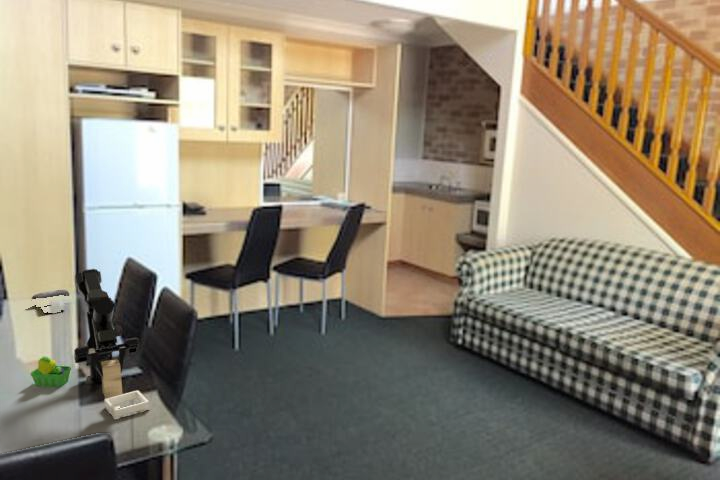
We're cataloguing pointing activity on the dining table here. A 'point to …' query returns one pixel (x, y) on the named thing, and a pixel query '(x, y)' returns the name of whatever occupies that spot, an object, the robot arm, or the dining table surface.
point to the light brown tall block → (111, 378)
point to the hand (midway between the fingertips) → (111, 374)
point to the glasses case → (51, 294)
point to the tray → (114, 402)
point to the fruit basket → (50, 373)
